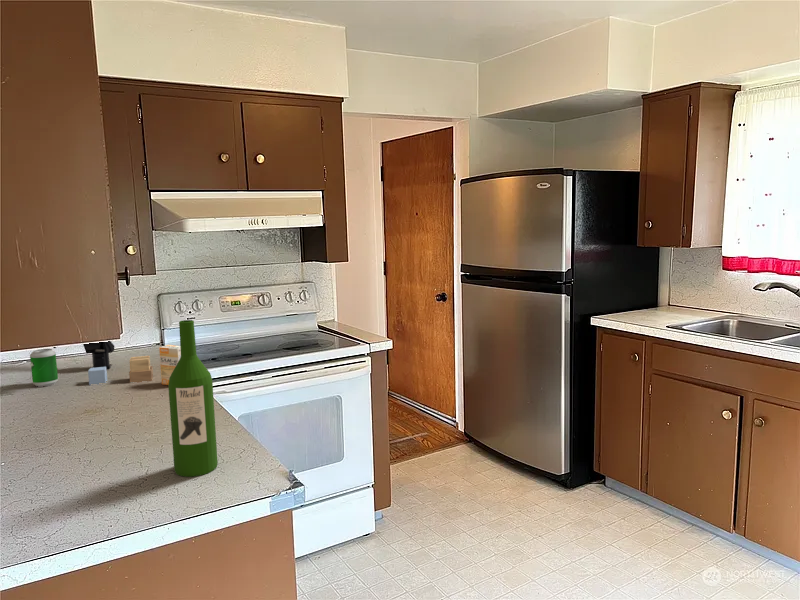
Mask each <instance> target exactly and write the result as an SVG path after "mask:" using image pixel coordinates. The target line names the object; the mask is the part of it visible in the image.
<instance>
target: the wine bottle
mask: <svg viewBox="0 0 800 600" xmlns="http://www.w3.org/2000/svg"><path fill="white" fill-rule="evenodd" d="M178 326H179V343H180V344H179V346H180V349H181V357H180V360H179V361H178V363H177V365H176V367H175V369H174V370H173V372H172V374H171V376H170V378H169V384H168V385H167V386H168V399H169V400H168V401H169V402H168V403H169V414H170V428H171V441H172V454H173V455H172V456H173V468H174V472H175V474H176V475H178V476H180V477H184V478H188V477H189V478H190V477H191V478H192V477H193V478H194V477H200V476H205V475H207V474H209V473H211V472H213V471H215V470H216V469H217V467H218V448H217V447H218V446H217V433H216V418H215V417H216V416H215V415H216V414H215V403H214V401H215V400H214V386H213V378H212V373H211V372H210V371H209V370H208V368H207V367H206V366H205V365H204V363H203V362H202V361H201V359H200V358H199V356H198V354H197V345H196V332H195V321H194V320H192V319H188V320H186V319H185V320H180V321H179V322H178Z"/></svg>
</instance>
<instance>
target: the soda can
mask: <svg viewBox="0 0 800 600" xmlns="http://www.w3.org/2000/svg"><path fill="white" fill-rule="evenodd" d="M29 359H30V360H29V361H30V369H31V370H30V371H31V379H32V384H33V385H35V386H36V387H37V386H38V388H39V387H40V388H42V387H43V386H45V387H50V385H51V386H54V385H56V384H55V383H57V382H58V381H59V374H58V365H57V353H56V351H55V350H54V349H52V348H43V349H42V348H41V349H36V350H33V351H32V352H31V353H30V354H29ZM53 384H54V385H53ZM43 388H44V387H43Z"/></svg>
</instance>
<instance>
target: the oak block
mask: <svg viewBox="0 0 800 600" xmlns="http://www.w3.org/2000/svg"><path fill="white" fill-rule="evenodd" d="M150 357H151V356H150V355H142V356H141V355H140V356H131V357H130V358H129V372H136V371H147V370H149V369H150V366H151V359H150Z"/></svg>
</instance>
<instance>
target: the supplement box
mask: <svg viewBox="0 0 800 600" xmlns="http://www.w3.org/2000/svg"><path fill="white" fill-rule="evenodd" d="M158 348H159V364H160V365H159V367H160V380H161V381H160V382H161V385H164V386H165V385H166V386H168V384H169V378H170V376H171V374H172V372H173V370H174V369H175V367H176V365H177V363H178V361H179V360H180V357H181V349H180V345H173V344H165V345H162V346H159V347H158Z"/></svg>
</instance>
